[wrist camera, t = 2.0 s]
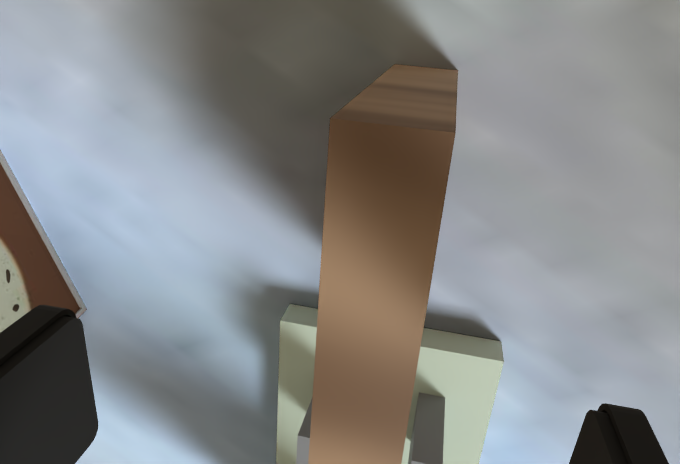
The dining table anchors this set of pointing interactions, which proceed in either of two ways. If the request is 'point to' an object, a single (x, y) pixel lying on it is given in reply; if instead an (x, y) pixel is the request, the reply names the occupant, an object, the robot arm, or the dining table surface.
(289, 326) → the hinge base
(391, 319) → the wooden block
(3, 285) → the food container
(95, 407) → the robot arm
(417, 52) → the dining table surface
